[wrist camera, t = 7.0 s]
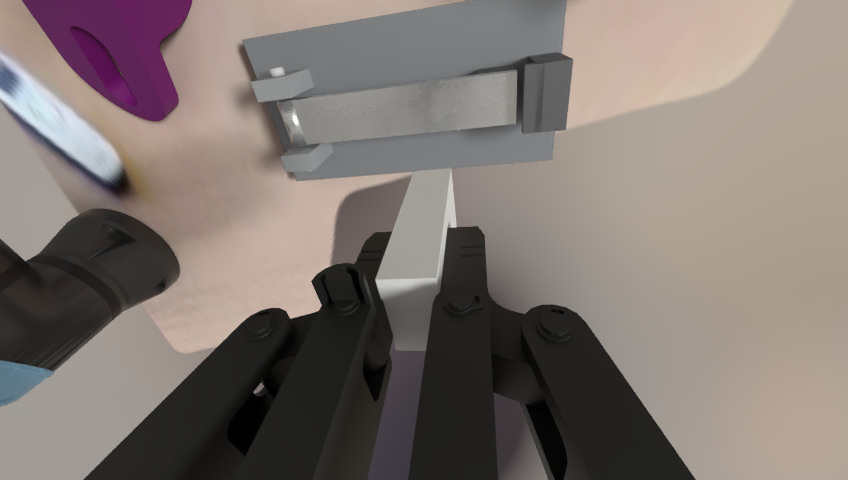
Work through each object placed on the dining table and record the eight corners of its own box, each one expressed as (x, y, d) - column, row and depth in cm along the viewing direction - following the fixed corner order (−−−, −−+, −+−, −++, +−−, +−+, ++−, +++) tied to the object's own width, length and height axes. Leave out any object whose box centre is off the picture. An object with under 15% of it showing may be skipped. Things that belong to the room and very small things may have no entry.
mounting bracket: (222, 90, 40) (178, -92, 25) (177, 135, 36) (90, -49, 21) (143, 50, 39) (44, -170, 23) (87, 92, 35) (-78, -141, 19)
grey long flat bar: (297, 141, 32) (289, 147, 31) (282, 99, 30) (272, 103, 29) (514, 119, 28) (516, 125, 27) (515, 68, 26) (517, 72, 25)
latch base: (303, 174, 39) (275, 201, 33) (253, 38, 31) (205, 44, 25) (548, 152, 34) (563, 181, 28) (562, -15, 26) (586, -22, 21)
